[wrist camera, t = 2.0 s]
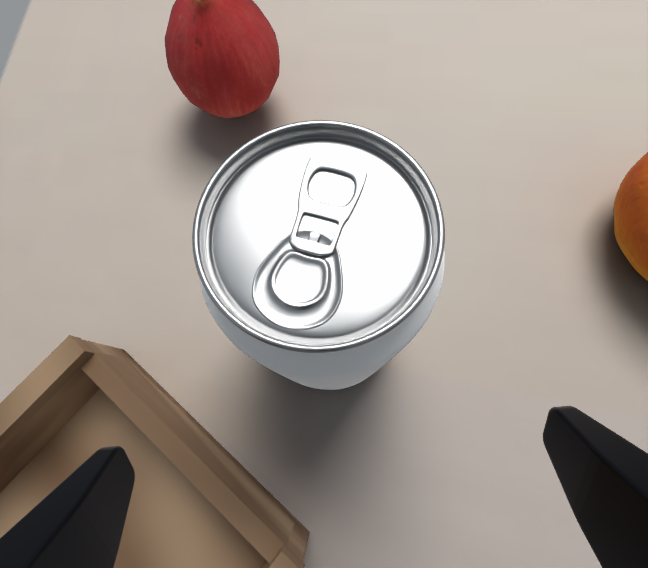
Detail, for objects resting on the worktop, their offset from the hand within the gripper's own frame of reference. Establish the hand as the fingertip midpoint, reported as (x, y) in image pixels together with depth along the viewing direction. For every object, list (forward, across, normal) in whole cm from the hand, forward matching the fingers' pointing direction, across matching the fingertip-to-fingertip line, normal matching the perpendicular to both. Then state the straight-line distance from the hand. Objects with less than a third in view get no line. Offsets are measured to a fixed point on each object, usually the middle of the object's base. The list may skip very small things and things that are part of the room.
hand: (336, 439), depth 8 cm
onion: (+21, +4, -5) cm, 22 cm away
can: (+11, 0, +5) cm, 12 cm away
